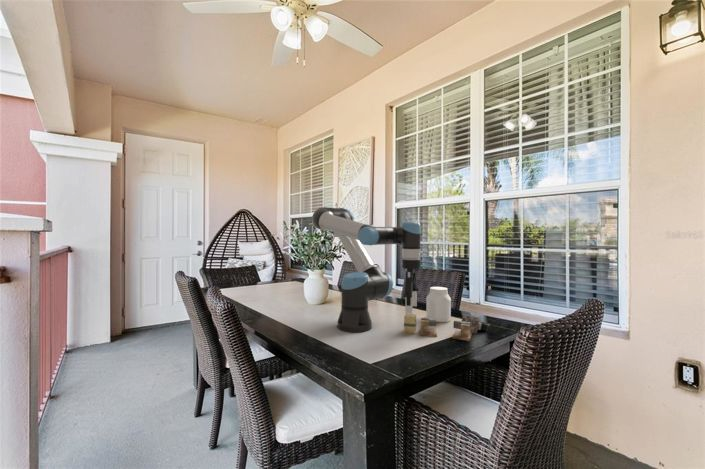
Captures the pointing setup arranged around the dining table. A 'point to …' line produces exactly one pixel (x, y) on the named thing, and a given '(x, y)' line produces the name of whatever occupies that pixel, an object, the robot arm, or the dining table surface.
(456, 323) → the shaft right
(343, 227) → the robot arm
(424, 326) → the shaft left
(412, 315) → the block
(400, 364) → the dining table surface
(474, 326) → the caster wheel
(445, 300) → the jar
